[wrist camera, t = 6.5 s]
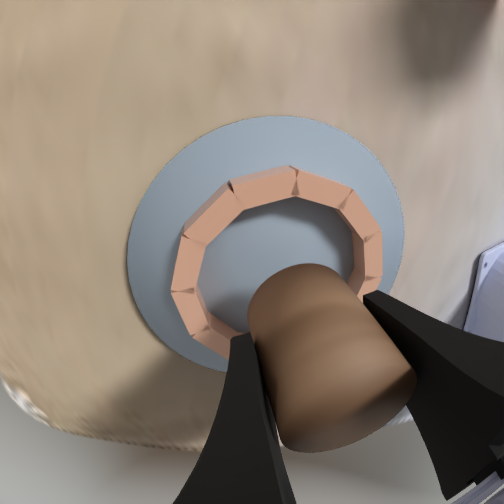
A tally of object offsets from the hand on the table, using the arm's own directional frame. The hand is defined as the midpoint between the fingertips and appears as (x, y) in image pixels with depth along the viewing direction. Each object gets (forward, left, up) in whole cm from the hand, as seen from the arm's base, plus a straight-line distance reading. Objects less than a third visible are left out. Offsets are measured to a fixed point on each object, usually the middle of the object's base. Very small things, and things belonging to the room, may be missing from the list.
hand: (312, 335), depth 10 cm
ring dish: (0, 0, -5) cm, 5 cm away
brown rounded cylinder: (0, 0, -1) cm, 1 cm away
